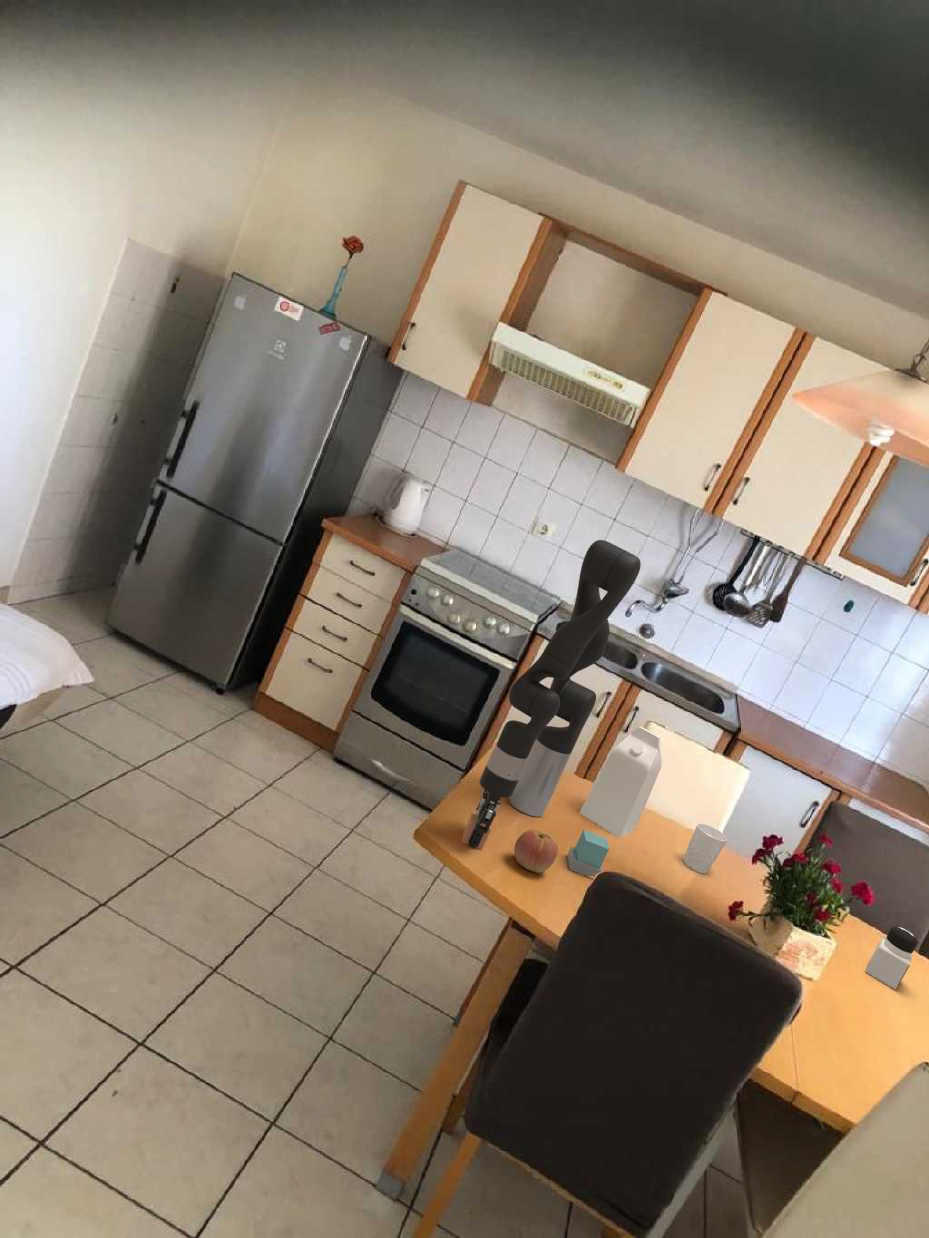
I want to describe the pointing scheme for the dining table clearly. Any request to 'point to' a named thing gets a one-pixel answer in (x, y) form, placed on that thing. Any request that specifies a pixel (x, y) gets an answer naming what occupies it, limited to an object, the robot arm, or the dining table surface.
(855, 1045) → the dining table surface
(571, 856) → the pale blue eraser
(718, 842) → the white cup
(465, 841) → the brick terracotta
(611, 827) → the milk
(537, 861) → the apple
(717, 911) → the dining table surface
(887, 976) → the medicine bottle
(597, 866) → the brick teal
